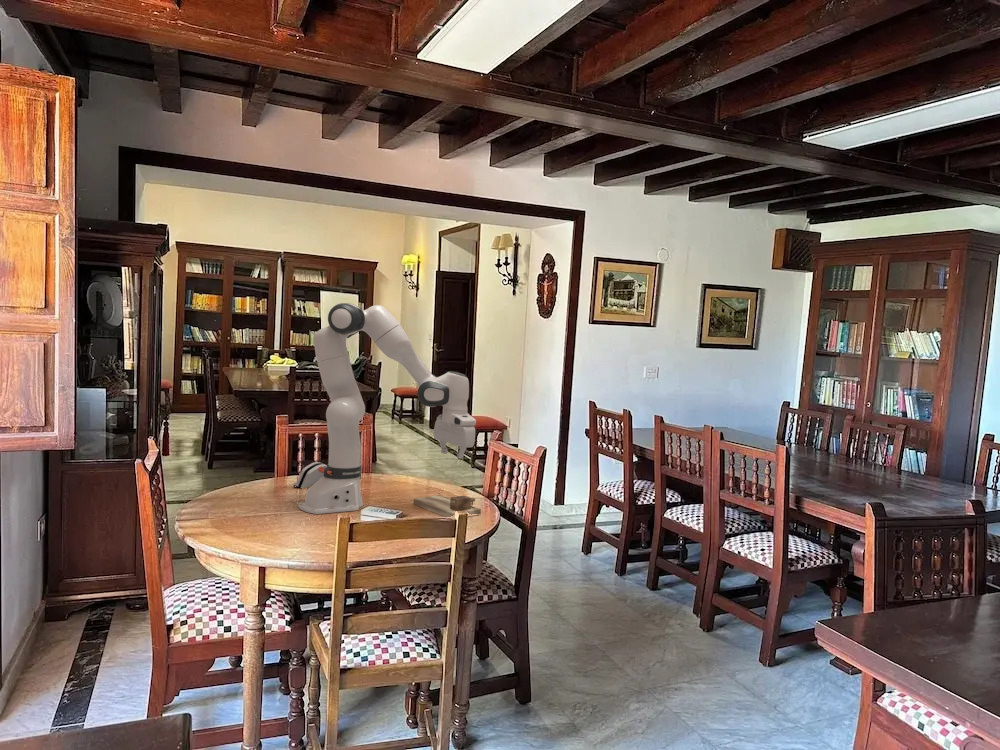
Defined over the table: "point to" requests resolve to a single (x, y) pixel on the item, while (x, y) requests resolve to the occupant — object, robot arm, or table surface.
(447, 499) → the board
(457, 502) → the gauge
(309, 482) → the grey curved piece
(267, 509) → the table surface
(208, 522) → the table surface
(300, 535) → the table surface
